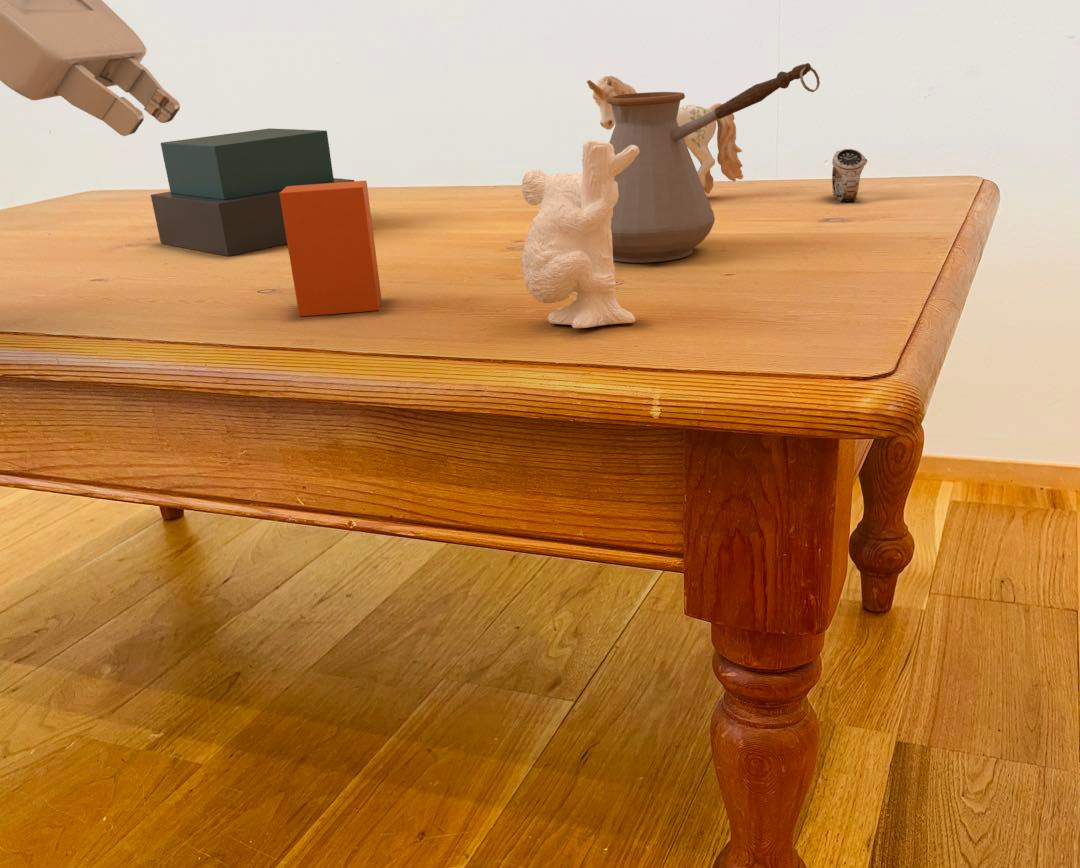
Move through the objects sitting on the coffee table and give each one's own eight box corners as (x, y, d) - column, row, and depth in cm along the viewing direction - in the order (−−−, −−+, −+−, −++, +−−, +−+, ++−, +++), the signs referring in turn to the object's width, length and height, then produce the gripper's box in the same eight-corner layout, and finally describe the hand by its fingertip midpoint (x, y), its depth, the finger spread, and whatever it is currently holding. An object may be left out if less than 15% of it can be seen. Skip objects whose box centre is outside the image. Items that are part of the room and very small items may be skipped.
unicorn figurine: (560, 212, 116) (553, 78, 110) (710, 190, 124) (711, 63, 118) (593, 221, 110) (587, 80, 105) (748, 197, 118) (751, 64, 112)
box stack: (228, 256, 105) (208, 148, 101) (160, 243, 114) (139, 144, 110) (360, 228, 115) (347, 129, 111) (288, 218, 124) (273, 126, 120)
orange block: (299, 316, 81) (279, 192, 77) (305, 305, 84) (286, 186, 80) (378, 310, 81) (362, 186, 77) (381, 299, 84) (366, 180, 80)
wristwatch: (834, 204, 110) (837, 153, 108) (822, 195, 116) (824, 146, 114) (868, 202, 110) (872, 151, 108) (855, 193, 116) (858, 144, 114)
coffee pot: (555, 260, 94) (545, 73, 87) (637, 236, 101) (634, 62, 95) (765, 287, 80) (772, 69, 74) (843, 258, 88) (855, 57, 81)
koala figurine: (663, 318, 74) (660, 133, 69) (610, 343, 69) (603, 146, 64) (562, 306, 79) (553, 132, 74) (506, 329, 74) (492, 145, 69)
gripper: (-76, -81, 61) (137, 94, 65) (54, -59, 79) (214, 77, 83) (-129, 12, 62) (82, 176, 67) (10, 13, 81) (168, 142, 85)
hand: (156, 121), depth 75 cm, fingers open, 8 cm apart
